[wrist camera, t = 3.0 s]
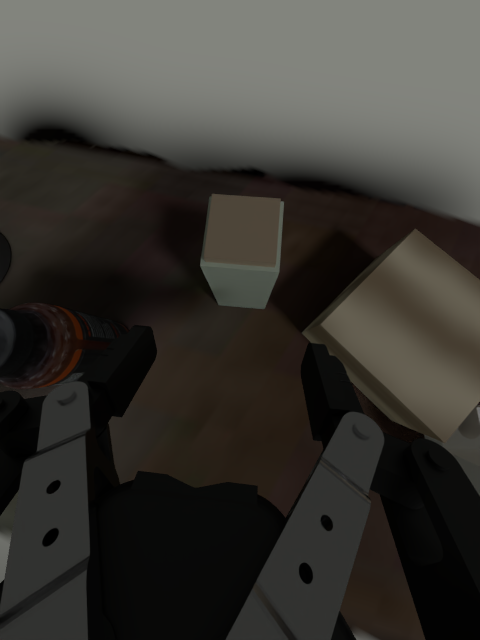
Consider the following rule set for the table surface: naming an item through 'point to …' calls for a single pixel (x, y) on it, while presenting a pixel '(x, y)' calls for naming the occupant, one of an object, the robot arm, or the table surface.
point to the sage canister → (242, 249)
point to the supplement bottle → (50, 344)
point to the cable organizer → (466, 446)
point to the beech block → (410, 336)
